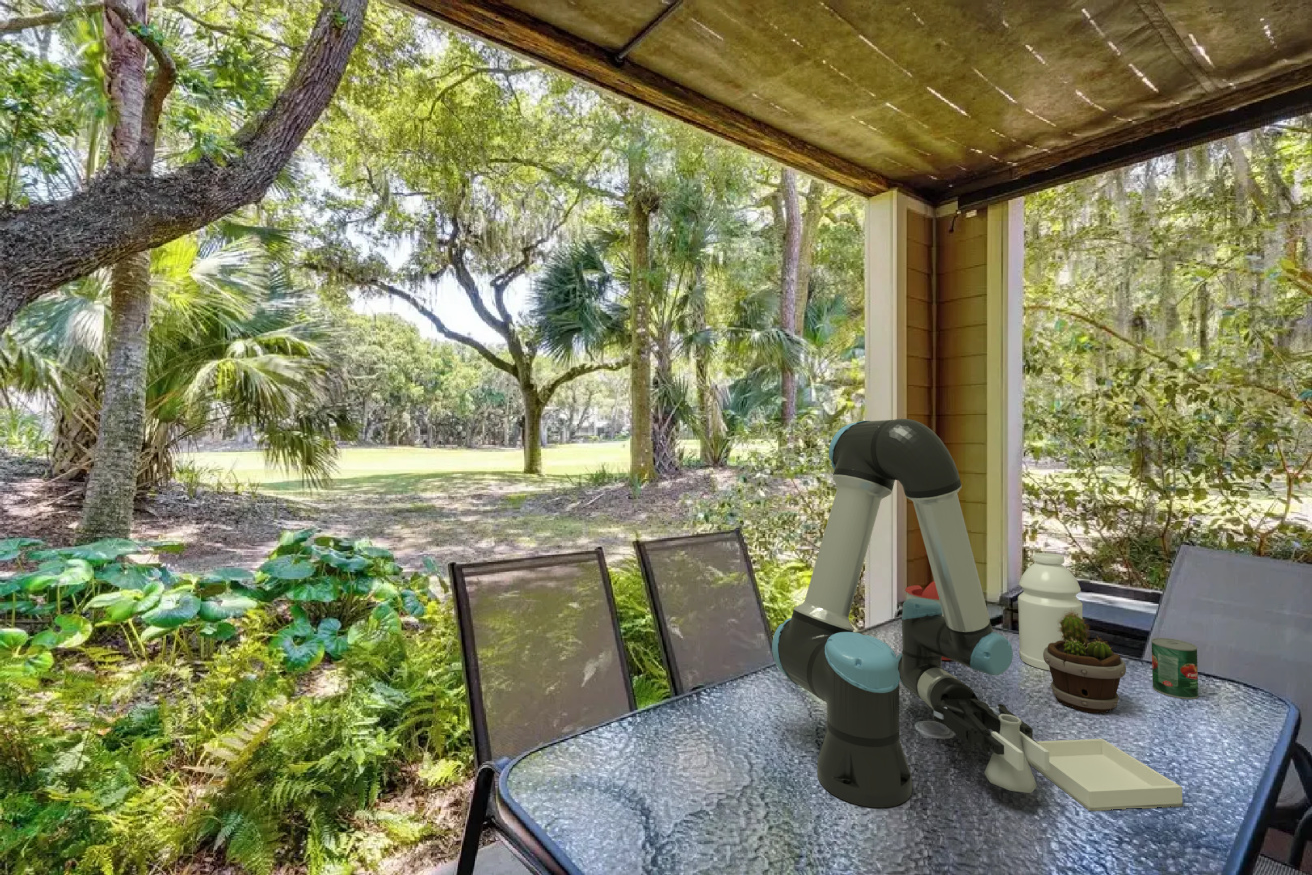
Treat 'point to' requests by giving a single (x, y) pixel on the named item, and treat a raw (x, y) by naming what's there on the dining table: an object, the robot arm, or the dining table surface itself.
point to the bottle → (1045, 606)
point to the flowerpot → (1083, 668)
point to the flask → (1003, 770)
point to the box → (1106, 776)
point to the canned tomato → (1175, 668)
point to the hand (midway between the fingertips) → (1033, 760)
